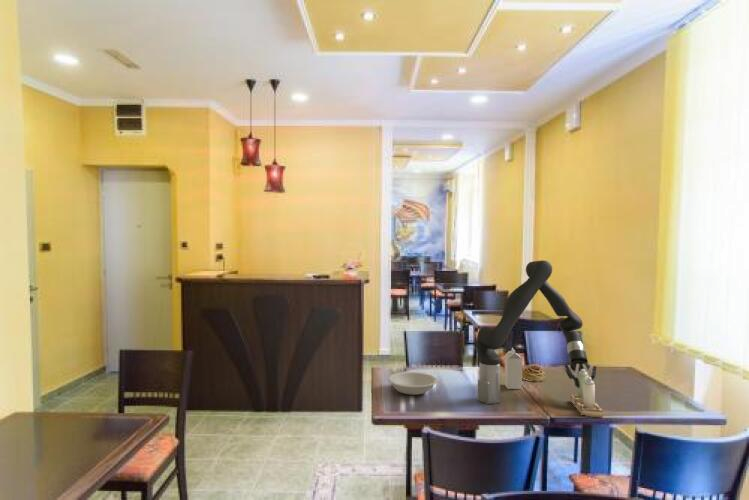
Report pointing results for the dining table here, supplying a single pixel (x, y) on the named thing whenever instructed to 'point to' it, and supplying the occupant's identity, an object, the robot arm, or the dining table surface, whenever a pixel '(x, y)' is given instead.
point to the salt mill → (589, 394)
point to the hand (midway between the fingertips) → (584, 387)
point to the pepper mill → (581, 382)
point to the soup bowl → (412, 382)
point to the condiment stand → (586, 411)
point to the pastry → (533, 373)
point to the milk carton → (513, 370)
